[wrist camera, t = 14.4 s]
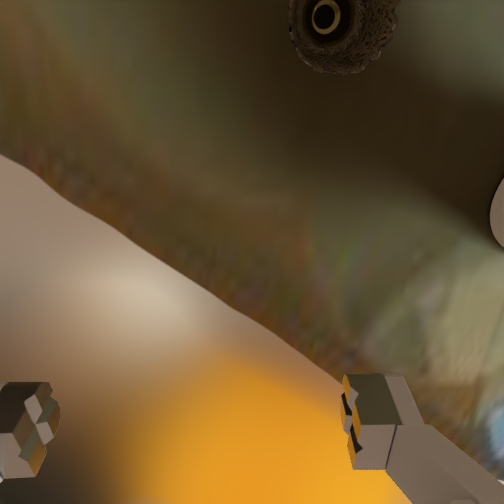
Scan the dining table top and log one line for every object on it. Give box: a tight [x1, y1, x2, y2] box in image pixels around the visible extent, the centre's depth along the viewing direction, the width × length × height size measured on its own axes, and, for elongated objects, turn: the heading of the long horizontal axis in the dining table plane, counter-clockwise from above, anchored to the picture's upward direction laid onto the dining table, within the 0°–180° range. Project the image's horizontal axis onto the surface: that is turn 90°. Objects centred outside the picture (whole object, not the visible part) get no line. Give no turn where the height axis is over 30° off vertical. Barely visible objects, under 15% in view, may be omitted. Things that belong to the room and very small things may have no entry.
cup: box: [288, 0, 400, 76], centre depth 30 cm, size 8×7×8 cm
